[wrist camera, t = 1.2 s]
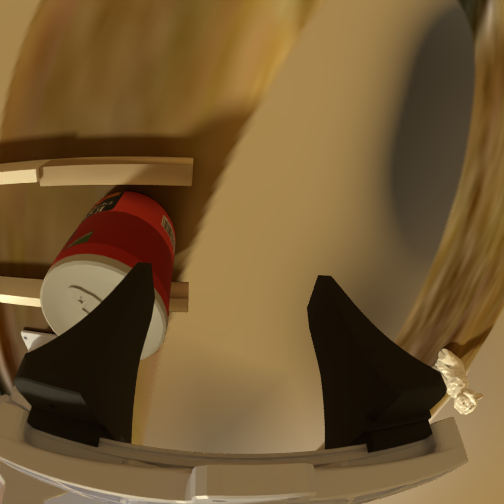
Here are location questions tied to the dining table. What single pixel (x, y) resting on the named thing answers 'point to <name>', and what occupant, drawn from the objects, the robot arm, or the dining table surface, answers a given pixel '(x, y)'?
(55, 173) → the rail channel
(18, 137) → the dining table surface
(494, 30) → the dining table surface
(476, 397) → the white creature statuette
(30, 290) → the open frame
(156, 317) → the canned food
